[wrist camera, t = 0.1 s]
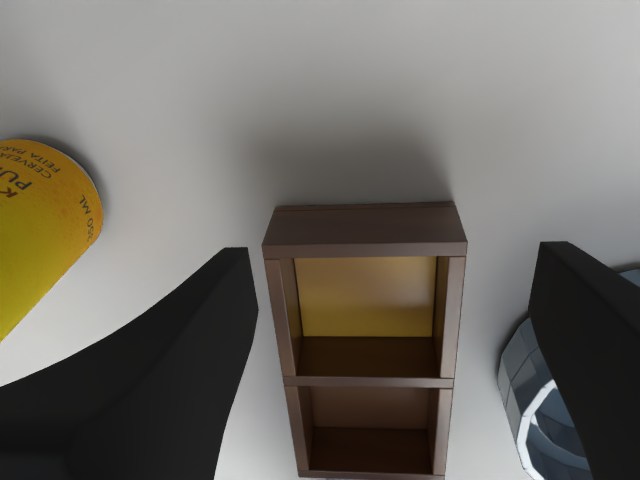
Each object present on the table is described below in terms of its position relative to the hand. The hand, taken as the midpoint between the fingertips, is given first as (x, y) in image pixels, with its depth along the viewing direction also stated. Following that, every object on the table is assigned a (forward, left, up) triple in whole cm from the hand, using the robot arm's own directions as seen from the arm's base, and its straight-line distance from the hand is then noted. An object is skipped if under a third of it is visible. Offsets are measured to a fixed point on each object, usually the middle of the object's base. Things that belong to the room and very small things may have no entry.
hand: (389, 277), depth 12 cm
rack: (-11, +1, -10) cm, 15 cm away
